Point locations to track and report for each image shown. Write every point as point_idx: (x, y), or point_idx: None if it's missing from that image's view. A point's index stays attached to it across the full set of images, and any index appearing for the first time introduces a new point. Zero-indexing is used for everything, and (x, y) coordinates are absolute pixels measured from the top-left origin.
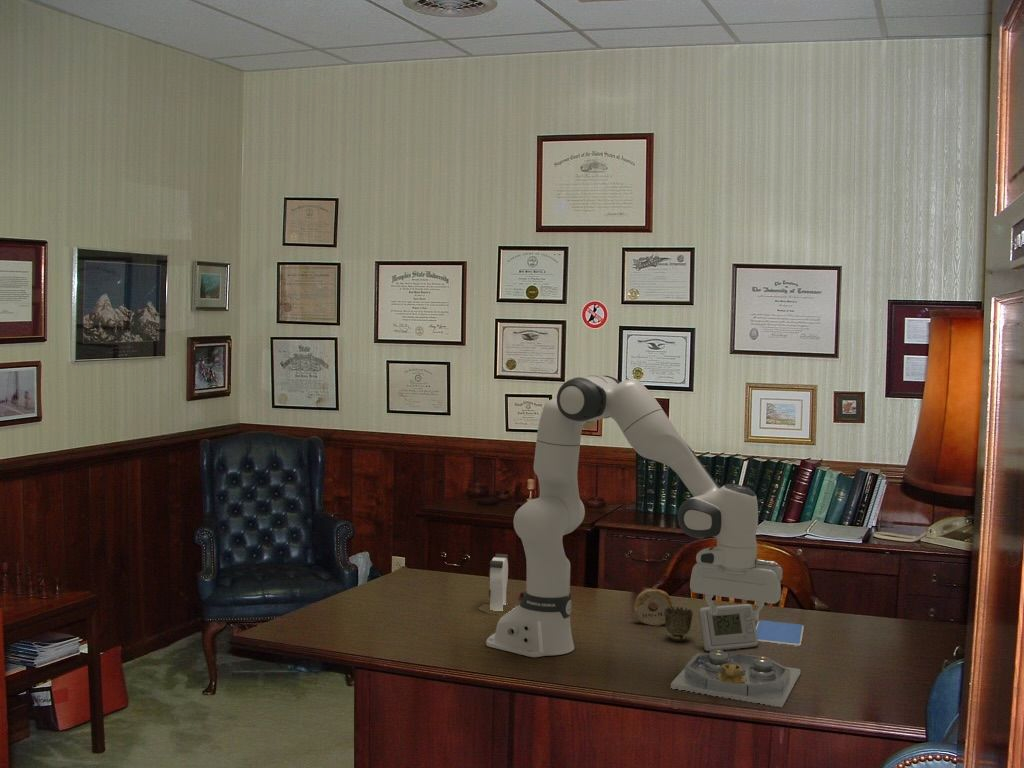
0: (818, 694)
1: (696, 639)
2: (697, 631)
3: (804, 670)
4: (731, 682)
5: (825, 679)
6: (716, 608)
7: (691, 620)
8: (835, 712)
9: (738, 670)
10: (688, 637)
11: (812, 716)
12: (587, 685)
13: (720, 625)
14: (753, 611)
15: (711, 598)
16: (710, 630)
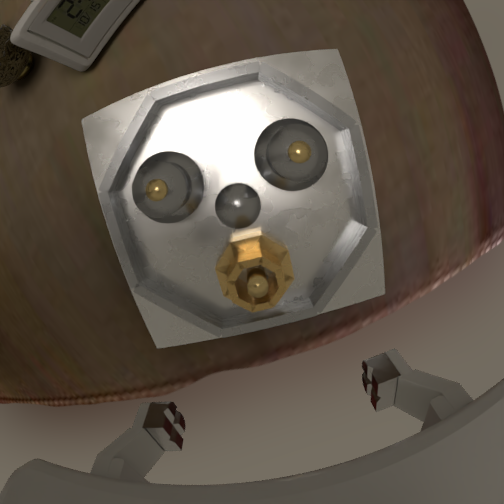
0: (413, 163)
1: None
2: None
3: (327, 26)
4: (279, 321)
5: (386, 60)
6: (171, 429)
7: None
8: (451, 242)
9: (282, 294)
10: None
11: (426, 287)
12: (81, 390)
13: (77, 11)
14: (385, 391)
15: (145, 480)
16: (64, 43)
